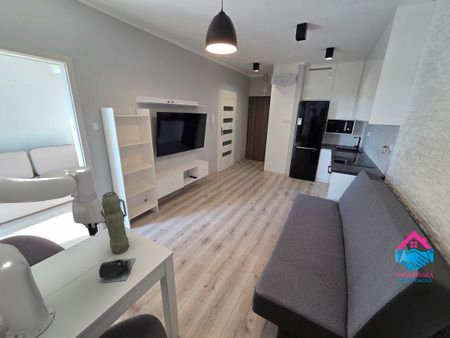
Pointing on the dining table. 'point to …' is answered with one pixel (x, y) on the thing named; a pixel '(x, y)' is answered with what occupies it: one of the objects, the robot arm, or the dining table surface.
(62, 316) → the dining table surface
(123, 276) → the mat
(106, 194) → the thermos
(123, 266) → the supplement bottle
